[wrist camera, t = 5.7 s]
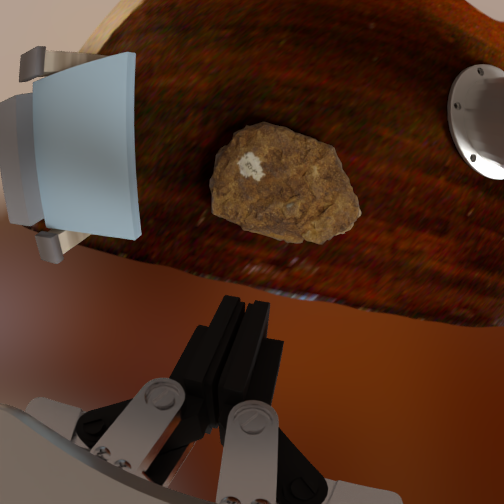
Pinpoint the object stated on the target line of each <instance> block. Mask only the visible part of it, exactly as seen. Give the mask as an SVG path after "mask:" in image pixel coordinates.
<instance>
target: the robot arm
mask: <svg viewBox="0 0 504 504" xmlns="http://www.w3.org/2000/svg"><path fill="white" fill-rule="evenodd" d="M454 104H455V105H456V107H454ZM447 111H448V122H449V128H450V132H451V135H452V138H453V141H454V143H455V146H456V148H457V150H458V152H459V153H460V155H461V156H462V158H463V159H464V161H465V162H466V163H467V164H468V165H469V166H470V167H471V168H472V169H473V170H475V171H476V172H477V173H479V174H481V175H483V176H485V177H488V178H491V179H497V180H501V179H504V71H502V70H501V69H499V68H497V67H495V66H492V65H487V64H479V65H474V66H470V67H467V68H466V69H464V70H463V71H461V72H460V74H459V75H458V76H457V77H456V78H455V80H454V82H453V84H452V86H451V89H450V93H449V96H448V105H447ZM470 156H471V158H470ZM269 309H270V303H269V302H262V301H257V300H255V302H254V304H250V303H249V304H248V306H247V309H246V312H245V302H240V298H239V297H233V296H228V295H225V296H224V298H223V300H222V302H221V304H220V305H219V307H218V310H217V311H216V314H215V315H214V317H213V319H212V321H211V323H210V325H209V327H207V326H202V325H199V326H197V328H196V330H195V331H194V333H193V335H192V337H191V339H190V341H189V342H188V344H187V346H186V348H185V350H184V352H183V353H182V355H181V357H180V359H179V361H178V363H177V365H176V366H175V368H174V370H173V372H172V374H171V376H170V377H169V378H157V379H153V380H151V381H149V382H148V383H146V384H145V386H143V387H142V389H141V390H140V391H139V392H138V393H137V395H136V396H135V397H134V398H133V399H130V400H126V401H123V402H120V403H116V404H113V405H109V406H106V407H102V408H98V409H95V410H91V411H88V412H85V411H83V410H82V409H81V408H77V407H73V406H70V405H66V404H63V403H59V402H56V401H53V400H50V399H47V398H44V397H38V398H35V399H34V400H32V401H30V403H29V405H28V406H27V408H26V410H25V412H24V411H22V410H20V409H18V408H16V407H13V406H10V405H7V404H1V403H0V504H403V502H402V499H401V497H399V495H398V494H397V493H394V492H391V491H387V490H381V489H375V488H371V487H366V486H361V485H356V484H352V483H347V482H343V481H340V480H338V481H332V480H329V479H325V478H324V477H323V476H322V475H321V474H320V473H319V471H318V470H316V468H315V467H314V466H313V465H312V464H311V463H310V462H309V461H308V460H307V459H306V458H305V456H304V455H303V454H302V453H301V452H300V451H299V450H298V449H297V448H296V447H295V445H294V444H293V443H292V442H291V441H290V440H289V439H288V437H287V436H286V435H285V434H284V433H283V432H282V431H281V429H280V428H279V427H278V416H277V414H276V412H275V410H274V409H273V408H272V407H271V403H272V399H273V394H274V389H275V385H276V380H277V376H278V371H279V366H280V361H281V355H282V350H283V344H284V341H280V340H274V339H268V338H267V329H268V320H269V319H268V318H269ZM218 426H219V431H220V439H221V444H222V445H223V447H224V449H223V456H222V463H221V470H220V477H219V484H218V490H217V498H216V503H213V502H210V501H206V500H203V499H199V498H196V497H192V496H189V495H186V494H183V493H180V492H177V491H174V490H171V489H168V488H167V487H168V485H169V484H170V482H171V481H172V479H173V478H174V476H175V475H176V473H177V471H178V470H179V468H180V467H181V465H182V464H183V462H184V460H185V459H186V457H187V456H188V454H189V453H190V451H191V449H192V448H193V446H194V444H195V441H197V440H199V439H202V438H203V436H204V434H205V433H208V434H210V433H211V430H212V427H213V428H218Z"/></svg>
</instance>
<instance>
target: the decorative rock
mask: <svg viewBox="0 0 504 504" xmlns="http://www.w3.org/2000/svg"><path fill="white" fill-rule="evenodd" d="M209 187H210V191H211V194H212V213H213V214H214V215H216V216H218V217H222V218H224V219H227V220H228V221H231V222H234V223H236V224H238V225H240V226H241V227H242V229H243V230H245V231H250V232H254V233H259V234H262V235H265V236H268V237H272V238H275V239H277V240H280V241H281V240H284V241H285V242H287V243H289V242H292V243H302V242H303V240H304V239H305V240H306V241H311V242H314V243H316V244H323V243H324V242H325V241H326V240H331V239H332V237H333V236H335V235H338V234H345V232H346V231H348V230H350V229H351V228H352V227H353V225H354V222H355V221H356V220H357V218H358V217H359V216H360V215H361V210H360V208H359V203H358V197H357V196H356V195H355V194H354V192H353V188H352V186H351V185H350V180H349V178H348V177H347V175H346V174H345V172H344V171H343V169H342V163H341V162H340V160H339V158H338V156H337V154H336V151H335V148H334V147H333V146H331V145H328V144H325V143H323V142H319V141H317V140H316V139H314V138H311V137H308V136H305V135H302V134H300V133H295V132H293V131H292V130H291V129H289V128H287V127H283V126H278V125H273V124H270V123H267V122H261V123H258V124H255V125H252V126H248V125H246V126H245V128H244V129H241V130H238V131H237V132H235V133H233V139H232V140H231V141H230V143H229V144H228V145H225V146H223V147H222V148H220V150H219V151H218V153H217V154H216V158H215V166H214V172H213V175H212V177H211V179H210V183H209Z"/></svg>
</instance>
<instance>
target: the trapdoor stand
mask: <svg viewBox="0 0 504 504" xmlns="http://www.w3.org/2000/svg"><path fill="white" fill-rule="evenodd" d="M45 50H46V47H45V46H44V47H43V46H37V47H35V48H33V49H31V50H30V51H28V52H26V53H24V54H22V55H21V61H20V74H19V82H26V81H29V80H32V79H34V78H36V77H43V76H50V75H52V74H55V73H58V72H60V71H63V70H66V69H69V68H72V67H75V66H78V65H81V64H84V63H87V62H91V61H94V60H98V59H101V58H105V57H109V56H105V55H97V54H87V53H77V52H62V51H45ZM89 235H91V234H89V233H82V232H75V231H68V230H61V229H54V228H53V229H52V230H50V231H49V232H44V231H41V232H40V233H38V234H37V235H35V238H36V241H37V246H38V249H39V253H40V257H41V259H42V260H44V261H48V262H51V263H55V264H58V263H59V262H61V261H62V260H63V259H64V258H63V254H64V253H65V252H67V251H68V250H69V249H71V248H72V247H74V246H75V245H76V244H78V243H79V242H81V241H82V240H83V239H85V238H86V237H88V236H89Z"/></svg>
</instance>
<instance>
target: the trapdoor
mask: <svg viewBox="0 0 504 504" xmlns="http://www.w3.org/2000/svg"><path fill="white" fill-rule="evenodd" d="M135 58H136V53H131V52H125V53H121V54H116V55H112V56H109V57H105V58H101V59H98V60H94V61H91V62H87V63H84V64H81V65H78V66H75V67H72V68H69V69H66V70H63V71H60V72H58V73H55V74H52V75H50V76H47V77H45V78H42V79H40V80H37V81H35V82H33V93H27V94H20V95H15V96H13V97H11V98H9V99H7V100H5V101H3V102H1V103H0V170H1V178H2V184H3V190H4V196H5V201H6V206H7V211H8V216H9V220H10V223H13V224H19V225H26V226H31V225H33V224H35V223H36V222H38V221H40V220H42V219H43V218H45V223H46V227H47V228H54V229H61V230H68V231H75V232H82V233H89V234H96V235H103V236H110V237H117V238H124V239H131V240H136V239H137V238H138V237H139V236H141V226H140V217H139V207H138V195H137V182H136V167H135V144H134V79H135Z"/></svg>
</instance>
